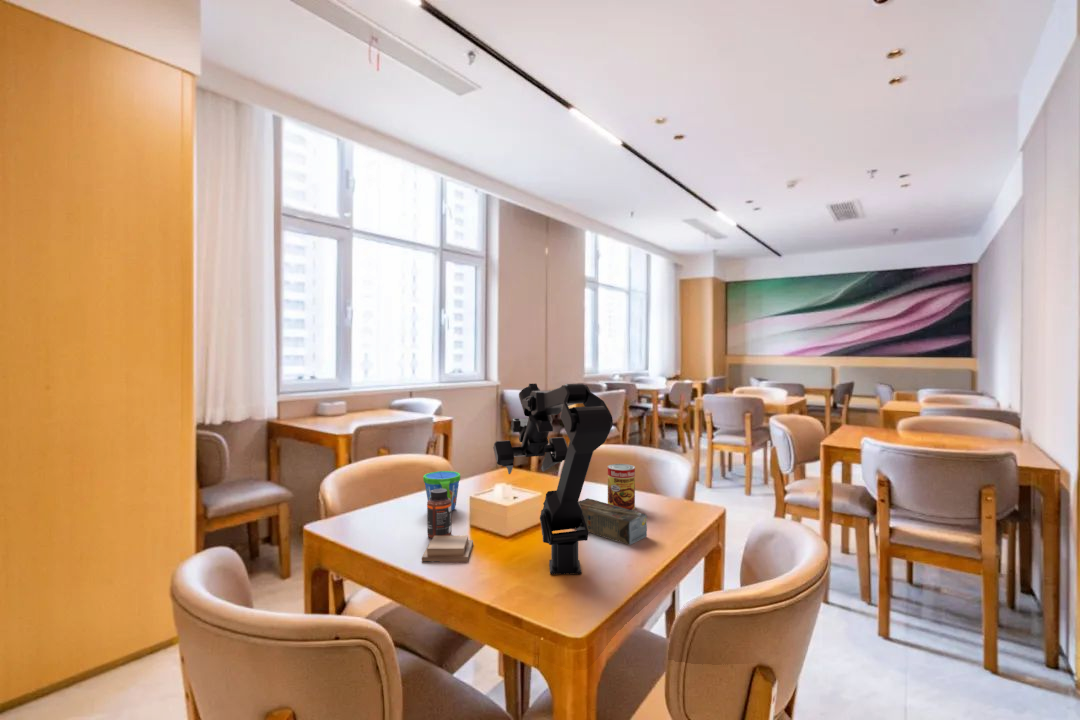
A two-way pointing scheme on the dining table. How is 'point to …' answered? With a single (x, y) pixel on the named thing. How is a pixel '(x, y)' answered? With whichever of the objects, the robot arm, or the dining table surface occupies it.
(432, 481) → the snack cup
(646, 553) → the dining table surface
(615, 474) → the canned food
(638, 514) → the beverage carton
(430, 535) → the supplement bottle
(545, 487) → the dining table surface
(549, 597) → the dining table surface
